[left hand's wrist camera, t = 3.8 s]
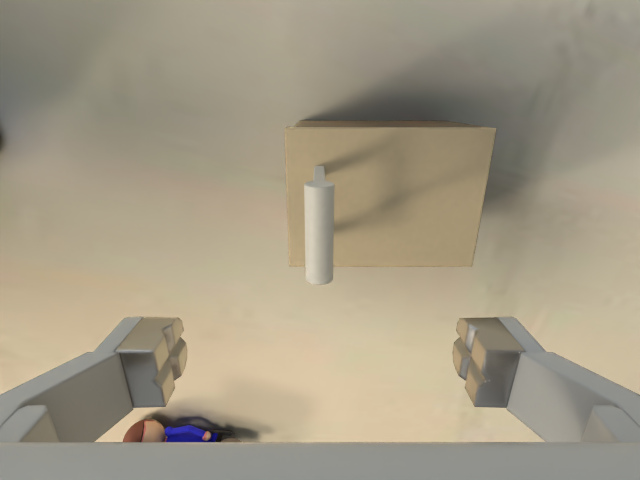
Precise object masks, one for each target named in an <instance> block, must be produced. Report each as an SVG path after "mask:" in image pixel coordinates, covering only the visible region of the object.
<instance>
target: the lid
mask: <svg viewBox="0 0 640 480" xmlns="http://www.w3.org/2000/svg"><path fill="white" fill-rule="evenodd" d="M495 135H496V128H490V127H286V128H285V157H286V187H287V216H288V246H289V266H305V270H306V280H307V282H309V283H311V284H314V285H325V284H328V283H330V282H331V281H332V280H333V266H472V264H473V258H474V253H475V247H476V242H477V236H478V230H479V225H480V219H481V214H482V208H483V202H484V197H485V191H486V185H487V180H488V174H489V169H490V163H491V157H492V152H493V146H494V141H495Z"/></svg>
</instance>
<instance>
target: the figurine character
mask: <svg viewBox="0 0 640 480" xmlns="http://www.w3.org/2000/svg"><path fill="white" fill-rule="evenodd" d="M210 432H211V433H210ZM210 432H208V431H207V432H206V431H203V430H201V429H199V428H196V427H194V426H191V425H187V426H182V427H177V428H173V427H171V426H168V427H167V428H166V429H165V430H164V427H163V426H162V425H161V423H159V422H158V421H156V420H153V419H145V420H141V421H139V422H137V423H135V424H134V425H133V426H132V427H131V428H130V429H129V430H128V431H127V433H126V434H125V437H124V439H123V442H215V441H216V442H241V441H240V440H238V439H234V438H228V439H225V440H223V441H221V440H222V436H223V435H233V434H235V433H233V432H232V431H224V430H212V431H210ZM212 434H213V435H212ZM211 435H212V438H211ZM166 436H167V438H166Z"/></svg>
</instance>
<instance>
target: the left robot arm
mask: <svg viewBox="0 0 640 480" xmlns="http://www.w3.org/2000/svg"><path fill="white" fill-rule="evenodd" d="M183 331H184V328H183V324H182V320H181V319H180V318H170V317H127V318H124V319H123V320H122V321H121V322H120V323H119V325H118V326H117V327H116V328H115V329H114V330H113V331H112V332H111V333H110V334H109V335H108V337H107V338H106V339H105V340H104V341H103V342H102V343H101V344H100V345H99V346H98V348H97V349H96V350H95V351H94V352H87V353H85V354H83V355H81V356H79V357H77V358H75V359H73V360H71V361H69V362H66V363H64V364H62V365H60V366H58V367H56V368H54V369H52V370H50V371H48V372H46V373H44V374H42V375H40V376H38V377H36V378H34V379H32V380H30V381H28V382H26V383H23V384H21V385H19V386H17V387H15V388H13V389H11V390H9V391H7V392H5V393H3V394H1V395H0V480H640V395H639V394H637V393H635V392H633V391H631V390H629V389H627V388H624V387H622V386H620V385H618V384H616V383H614V382H612V381H610V380H608V379H606V378H604V377H602V376H600V375H598V374H596V373H594V372H592V371H590V370H588V369H586V368H584V367H582V366H580V365H578V364H575V363H573V362H571V361H569V360H567V359H565V358H563V357H561V356H559V355H557V354H555V353H553V352H546V351H545V350H544V349H543V348H542V346H541V345H540V344H539V343H538V342H537V341H536V340H535V339H534V338H533V337H532V335H531V334H530V333H529V332H528V331H527V330H526V329H525V328H524V327H523V326H522V325H521V323H520V322H519V321H518V320H517V319H516V318H514V317H494V318H460V319H459V321H458V323H457V328H456V331H457V333H458V334H459V336H460V337H459V338H458V339H457V340H456V341H455V342H454V346H453V362H454V365H455V369H456V371H457V373H458V375H459V376H460V377H461V378H463V379H464V380H466V384H465V389H466V391H467V393H468V395H469V397H470V399H471V401H472V403H473V404H474V406H475V407H500V408H507V410H508V411H509V412H511V413H512V414H513V415H514V416H515V417H517V418H518V419H519V420H520V421H521V422H523V423H524V424H525V425H526V426H527V427H529V428H530V429H531V430H532V431H533V432H535V433H536V434H537V435H538V436H539V437H541V438H542V439H543V440H544V441H545V442H95V441H96V440H97V439H98V438H99V437H101V436H102V435H103V434H104V433H105V432H107V431H108V430H109V429H110V428H112V427H113V426H114V425H115V424H116V423H118V422H119V421H120V420H121V419H122V418H124V417H125V416H126V415H127V414H128V413H130V412H131V411H132V410H133V408H140V407H165V406H166V405H167V403H168V401H169V399H170V397H171V395H172V393H173V391H174V389H175V384H174V380H176V379H177V378H179V377H180V376H181V375H182V373H183V371H184V369H185V365H186V361H187V346H186V342H185V341H184V340H183V339H182V338H181V337H180V336H181V334H182V333H183Z"/></svg>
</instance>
